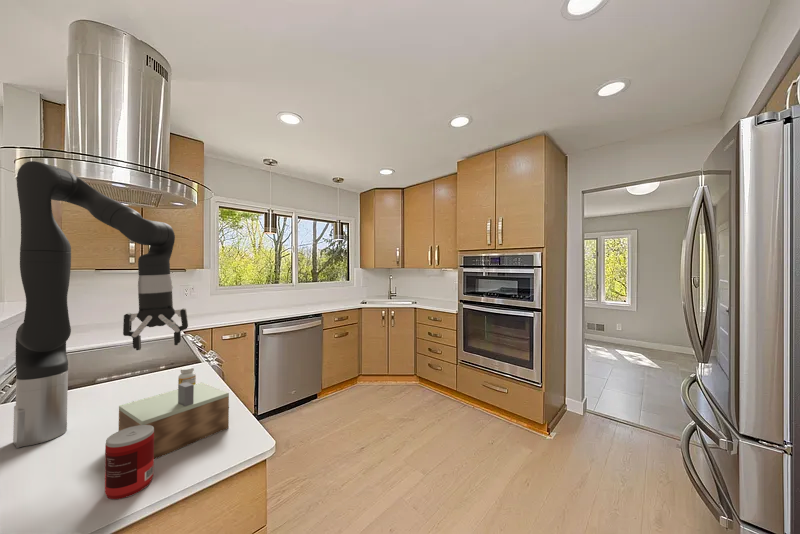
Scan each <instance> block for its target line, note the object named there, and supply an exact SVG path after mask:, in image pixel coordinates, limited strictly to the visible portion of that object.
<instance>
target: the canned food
mask: <svg viewBox="0 0 800 534" xmlns="http://www.w3.org/2000/svg"><path fill="white" fill-rule="evenodd" d="M104 454H105V455H104V457H105V458H104V463H105V464H104V493H105V496H106V497H107V498H108V499H110V500H119V499H121V500H122V499H125V498H129V497H131V496H133V495H135V494H137V493H139V492H141V491H143V490H144V489H145V488H147V487H148V486H149V485H150V484H151V483H152V480H153V479H154V473H155V472H154V465H155V464H154V463H155V462H154V461H155V460H154V427H153V426H151V425H138V426H133V427H129V428H126V429H123V430H120V431H119V430H118V431H117V432H114V433H112V434H111V435H109V436H108V437H107V438H106V441H105V450H104Z"/></svg>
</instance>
